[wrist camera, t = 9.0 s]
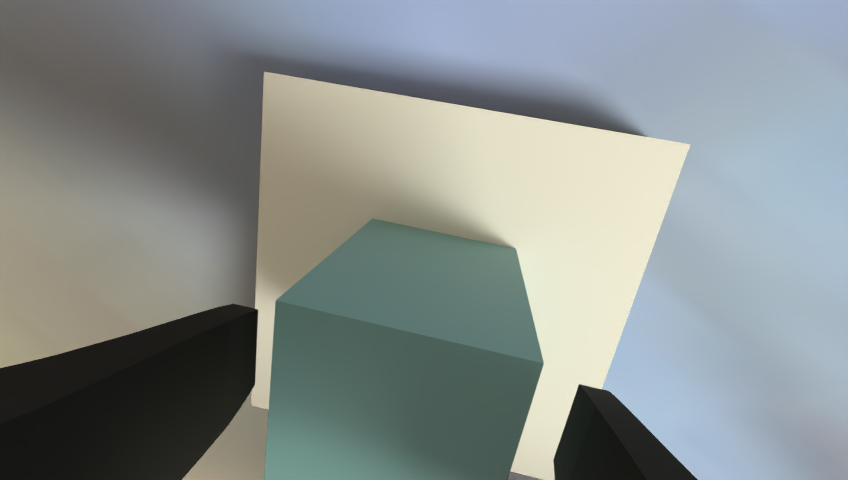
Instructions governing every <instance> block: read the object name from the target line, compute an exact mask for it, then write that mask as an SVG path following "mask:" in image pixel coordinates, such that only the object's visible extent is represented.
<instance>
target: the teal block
mask: <svg viewBox="0 0 848 480" xmlns="http://www.w3.org/2000/svg"><path fill="white" fill-rule="evenodd" d="M543 365H544V362H543V357H542V353H541V349H540V345H539V341H538V337H537V333H536V329H535V325H534V321H533V316H532V312H531V308H530V304H529V300H528V296H527V292H526V288H525V284H524V279H523V275H522V271H521V267H520V263H519V259H518V255H517V251H516V249H515V248H510V247H506V246H501V245H496V244H491V243H487V242H482V241H477V240H472V239H468V238H463V237H458V236H453V235H449V234H444V233H439V232H434V231H429V230H425V229H420V228H415V227H410V226H406V225H401V224H396V223H391V222H387V221H382V220H377V219H371V220H370V221H369V222H368V223H366V224H365V225H364V226H363V227H362V228H361V229H359V230H358V231H357V232H356V233H355V234H353V235H352V236H351V237H350V238H349V239H348V240H346V241H345V242H344V243H343V244H342V245H340V246H339V247H338V248H337V249H336V250H335V251H333V252H332V253H331V254H330V255H329V256H327V257H326V258H325V259H324V260H323V261H322V262H320V263H319V264H318V265H317V266H316V267H314V268H313V269H312V270H311V271H310V272H309V273H307V274H306V275H305V276H304V277H303V278H301V279H300V280H299V281H298V282H297V283H296V284H294V285H293V286H292V287H291V288H290V289H288V290H287V291H286V292H285V293H284V294H283V295H281V296H280V297H279V298H278V299H277V300H276V301H275V317H274V332H273V348H272V364H271V379H270V395H269V411H268V426H267V442H266V458H265V474H264V480H508V477H509V474H510V470H511V467H512V464H513V461H514V458H515V454H516V451H517V448H518V445H519V442H520V438H521V435H522V432H523V429H524V426H525V422H526V419H527V416H528V413H529V410H530V406H531V403H532V400H533V397H534V394H535V390H536V387H537V384H538V381H539V378H540V374H541V371H542V368H543Z"/></svg>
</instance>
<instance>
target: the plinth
mask: <svg viewBox="0 0 848 480" xmlns="http://www.w3.org/2000/svg"><path fill="white" fill-rule="evenodd" d="M689 147H690V144H684V143H678V142H673V141H667V140H661V139H655V138H649V137H643V136H638V135H632V134H626V133H620V132H614V131H608V130H602V129H597V128H591V127H585V126H579V125H573V124H567V123H562V122H556V121H550V120H544V119H538V118H532V117H526V116H521V115H515V114H509V113H503V112H497V111H491V110H486V109H480V108H474V107H468V106H462V105H456V104H450V103H445V102H439V101H433V100H427V99H421V98H415V97H410V96H404V95H398V94H392V93H386V92H380V91H374V90H369V89H363V88H357V87H351V86H345V85H339V84H334V83H328V82H322V81H316V80H310V79H304V78H298V77H293V76H287V75H281V74H275V73H269V72H264V83H263V109H262V136H261V162H260V188H259V214H258V240H257V266H256V292H255V309H258V328H257V351H256V374H255V386H254V387H253V389H252V397H251V405H252V406H256V407H260V408H264V409H268V410H269V395H270V379H271V364H272V348H273V332H274V317H275V301H276V300H277V299H278V298H279V297H280V296H281V295H283V294H284V293H285V292H286V291H287V290H288V289H290V288H291V287H292V286H293V285H294V284H296V283H297V282H298V281H299V280H300V279H301V278H303V277H304V276H305V275H306V274H307V273H309V272H310V271H311V270H312V269H313V268H314V267H316V266H317V265H318V264H319V263H320V262H322V261H323V260H324V259H325V258H326V257H327V256H329V255H330V254H331V253H332V252H333V251H335V250H336V249H337V248H338V247H339V246H340V245H342V244H343V243H344V242H345V241H346V240H348V239H349V238H350V237H351V236H352V235H353V234H355V233H356V232H357V231H358V230H359V229H361V228H362V227H363V226H364V225H365V224H366V223H368V222H369V221H370V220H371V219H377V220H382V221H387V222H391V223H396V224H401V225H406V226H410V227H415V228H420V229H425V230H429V231H434V232H439V233H444V234H449V235H453V236H458V237H463V238H468V239H472V240H477V241H482V242H487V243H491V244H496V245H501V246H506V247H510V248H515V249H516V251H517V255H518V259H519V263H520V267H521V271H522V275H523V279H524V284H525V288H526V292H527V296H528V300H529V304H530V308H531V312H532V316H533V321H534V325H535V329H536V333H537V337H538V341H539V345H540V349H541V353H542V357H543V362H544V365H543V368H542V371H541V374H540V378H539V381H538V384H537V387H536V390H535V394H534V397H533V400H532V403H531V406H530V410H529V413H528V416H527V419H526V422H525V426H524V429H523V432H522V435H521V438H520V442H519V445H518V448H517V451H516V454H515V458H514V461H513V464H512V467H511V470H510V471H511V472H515V473H519V474H523V475H527V476H531V477H535V478H538V479H542V480H555V475H554V462H553V459H554V456H555V453H556V450H557V448H558V445H559V442H560V439H561V436H562V433H563V430H564V427H565V424H566V421H567V418H568V415H569V412H570V409H571V406H572V403H573V400H574V397H575V394H576V392H577V389H578V386H579V384H581V385H585V386H589V387H594V388H598V389H602V386H603V384H604V381H605V378H606V375H607V373H608V370H609V367H610V364H611V362H612V359H613V356H614V353H615V351H616V348H617V345H618V342H619V339H620V337H621V334H622V331H623V328H624V326H625V323H626V320H627V317H628V315H629V312H630V309H631V306H632V304H633V301H634V298H635V295H636V293H637V290H638V287H639V284H640V282H641V279H642V276H643V273H644V271H645V268H646V265H647V262H648V260H649V257H650V254H651V251H652V249H653V246H654V243H655V240H656V238H657V235H658V232H659V229H660V227H661V224H662V221H663V218H664V216H665V213H666V210H667V207H668V205H669V202H670V199H671V196H672V194H673V191H674V188H675V185H676V183H677V180H678V177H679V174H680V172H681V169H682V166H683V163H684V161H685V158H686V155H687V152H688V150H689Z"/></svg>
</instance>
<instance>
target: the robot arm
mask: <svg viewBox="0 0 848 480" xmlns="http://www.w3.org/2000/svg"><path fill="white" fill-rule="evenodd" d="M257 328H258V309H253V308H249V307H245V306H240V305H236V304H231V305H226V306H222V307H218V308H214V309H210V310H207V311H203V312H200V313H197V314H193V315H190V316H187V317H184V318H181V319H177V320H174V321H171V322H168V323H164V324H161V325H158V326H155V327H152V328H148V329H145V330H142V331H139V332H135V333H132V334H129V335H126V336H122V337H119V338H115V339H111V340H108V341H104V342H101V343H97V344H94V345H90V346H87V347H83V348H79V349H76V350H72V351H69V352H65V353H62V354H58V355H54V356H50V357H46V358H42V359H38V360H34V361H30V362H26V363H22V364H17V365H13V366H8V367H4V368H0V480H182V479H183V478H184V476H185V475H186V474H187V473H188V472H189V471H190V469H191V468H192V467H193V466H194V465H195V464H196V463H197V461H198V460H199V459H200V458H201V457H202V456H203V454H204V453H205V452H206V451H207V450H208V448H209V447H210V446H211V445H212V444H213V443H214V441H215V440H216V439H217V438H218V437H219V436H220V434H221V433H222V432H223V431H224V430H225V428H226V427H227V426H228V425H229V423H230V422H231V420H232V419H233V417H234V416H235V415H236V413H237V412H238V410H239V409H240V407H241V406H242V404H243V403H244V401H245V400H246V398H247V396H248V395H249V393H250V392H251V390H252V389H253V387H254V386H255V374H256V351H257ZM553 462H554V475H555V480H697V479H696V478H695V477H694V476H693V475H692V474H691V473H690V472H689V471H688V470H687V469H686V468H685V467H684V466H683V465H682V464H681V463H680V462H679V461H678V460H677V459H676V458H675V457H674V456H673V455H672V454H671V453H670V452H669V451H668V450H667V449H666V448H665V446H664V445H663V444H662V443H661V442H660V441H659V440H658V439H657V438H656V437H655V436H654V435H653V434H652V433H651V432H650V431H649V430H648V429H647V428H646V427H645V426H644V425H643V424H642V423H641V422H640V421H639V420H638V419H637V418H636V417H635V416H634V415H633V414H632V413H631V412H630V411H629V410H628V409H627V408H626V407H625V406H624V405H623V404H622V403H621V402H620V401H619V400H618V399H617V398H616V397H615V396H614V395H613V394H612V393H610V392H609V391H607V390H602V389H598V388H594V387H589V386H585V385H581V384H579V386H578V389H577V392H576V394H575V397H574V400H573V403H572V406H571V409H570V412H569V415H568V418H567V421H566V424H565V427H564V430H563V433H562V436H561V439H560V442H559V445H558V448H557V450H556V453H555V456H554V459H553Z"/></svg>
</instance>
